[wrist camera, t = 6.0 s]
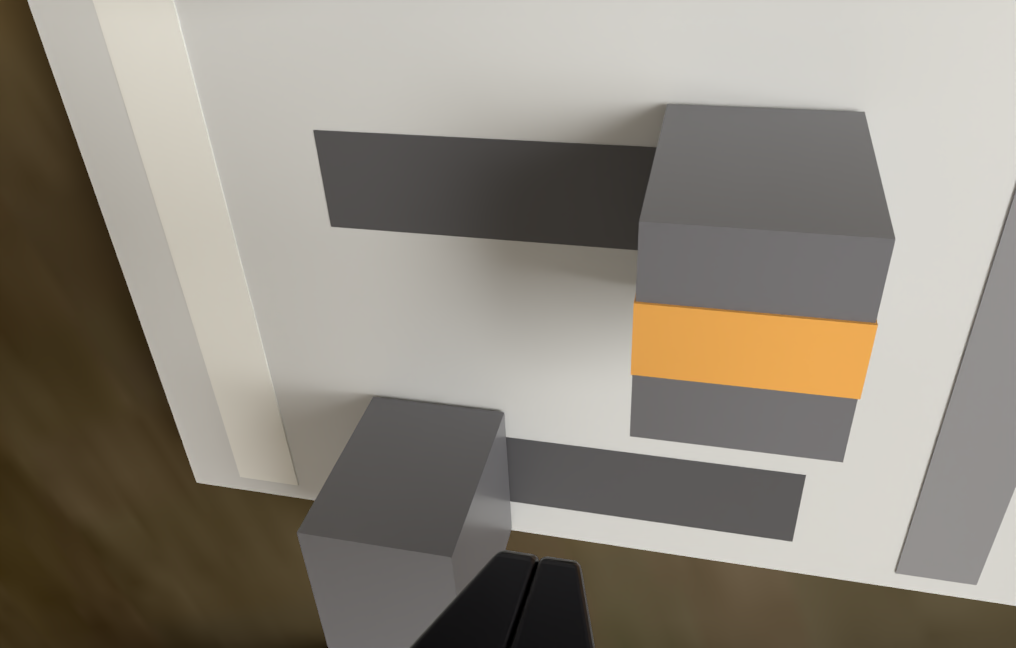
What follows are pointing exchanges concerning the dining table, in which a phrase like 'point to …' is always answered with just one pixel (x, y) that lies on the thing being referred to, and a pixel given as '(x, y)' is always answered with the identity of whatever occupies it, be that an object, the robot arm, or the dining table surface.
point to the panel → (552, 250)
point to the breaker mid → (758, 279)
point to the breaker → (406, 520)
